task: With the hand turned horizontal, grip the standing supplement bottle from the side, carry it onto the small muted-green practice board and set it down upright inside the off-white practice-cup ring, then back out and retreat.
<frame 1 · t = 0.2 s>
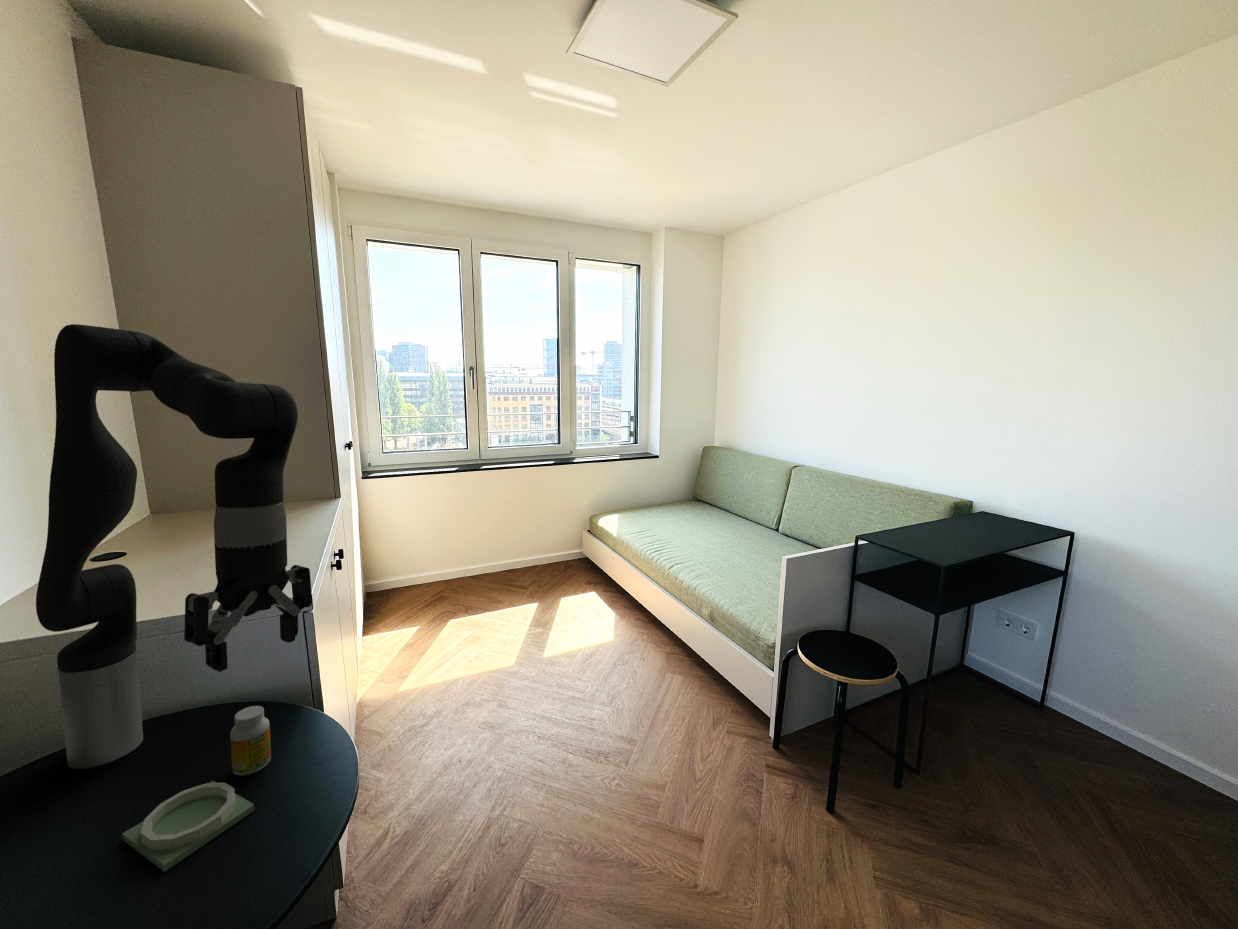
hand: (255, 654, 65), 29 cm above the table, tool pointing down, fingers open, 8 cm apart
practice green: (191, 824, 71), on the table
supplement bottle: (252, 766, 83), on the table
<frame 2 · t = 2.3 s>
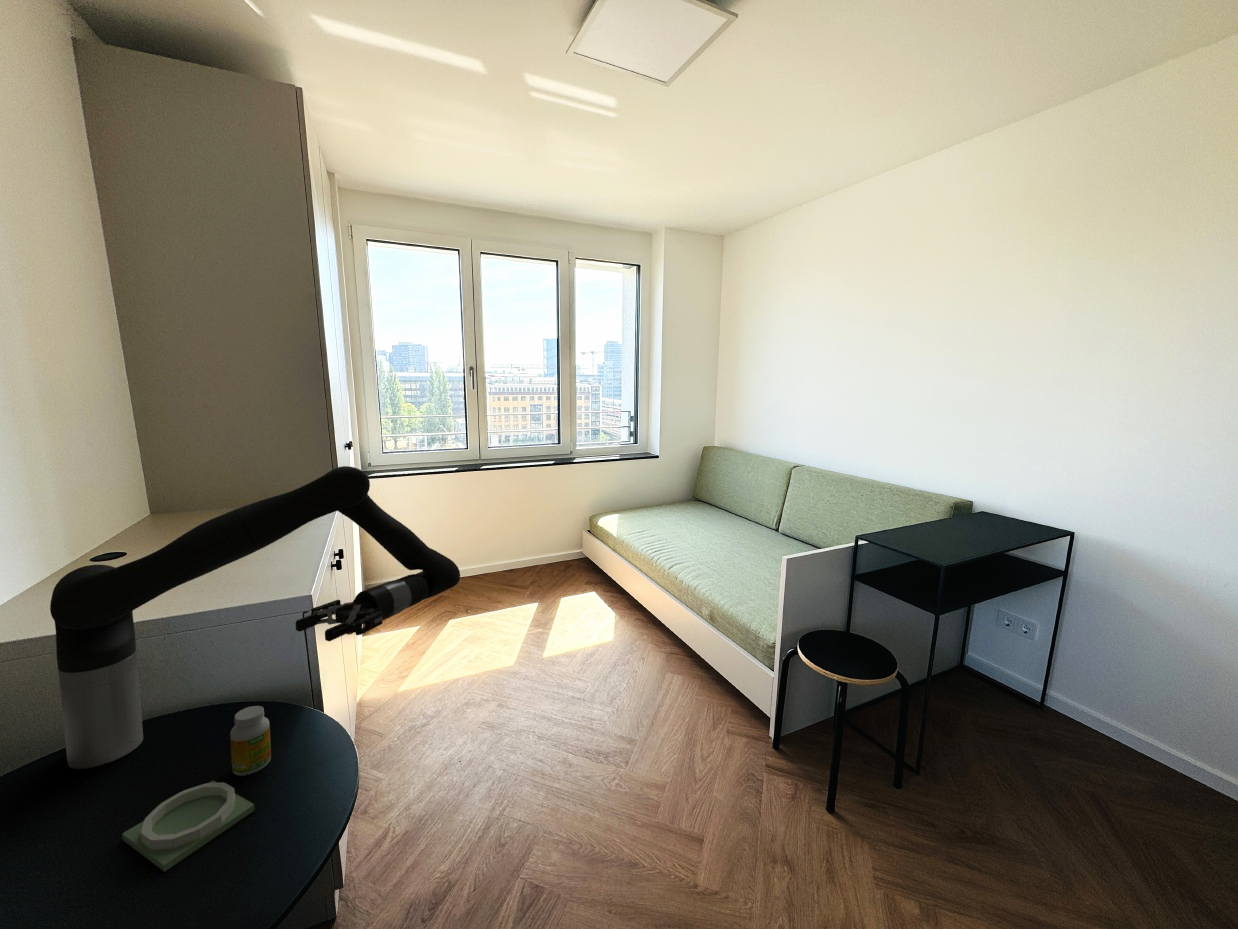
hand: (311, 631, 91), 20 cm above the table, tool horizontal, fingers open, 8 cm apart
nothing on the table moved.
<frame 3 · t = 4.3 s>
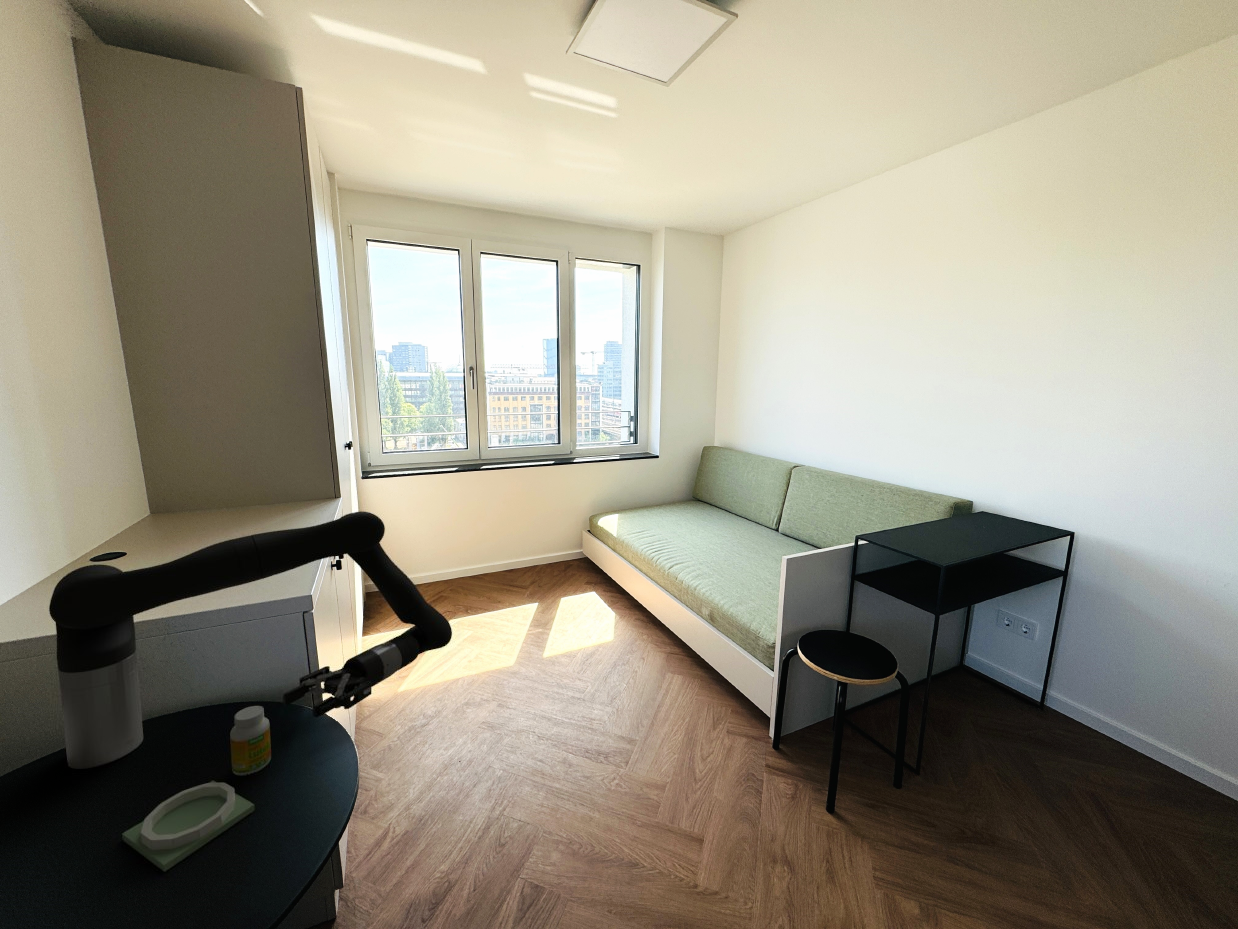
hand: (298, 706, 90), 6 cm above the table, tool horizontal, fingers open, 8 cm apart
nothing on the table moved.
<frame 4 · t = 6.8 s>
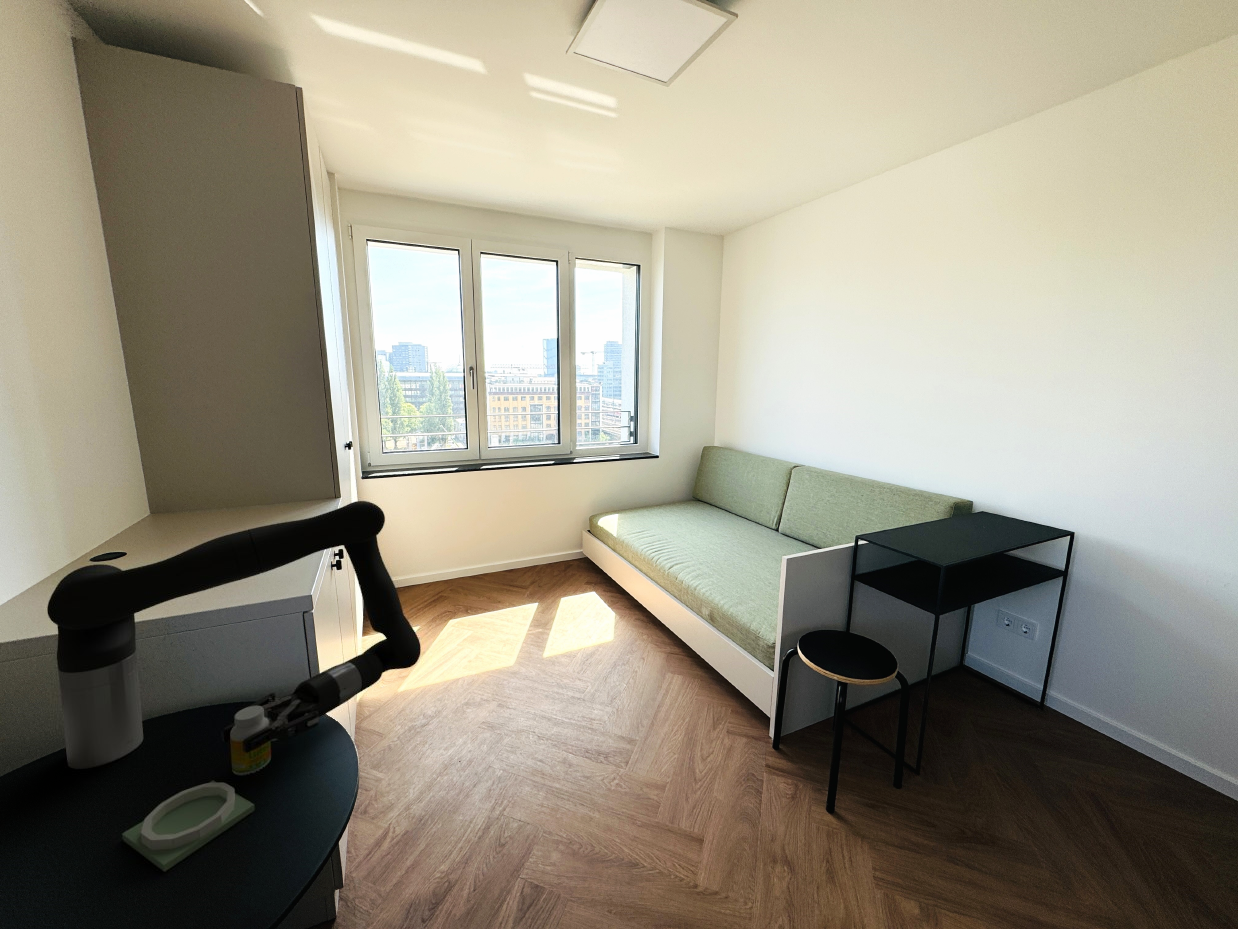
hand: (233, 741, 80), 6 cm above the table, tool horizontal, fingers closed on supplement bottle, 5 cm apart
supplement bottle: (252, 766, 83), on the table, touching gripper
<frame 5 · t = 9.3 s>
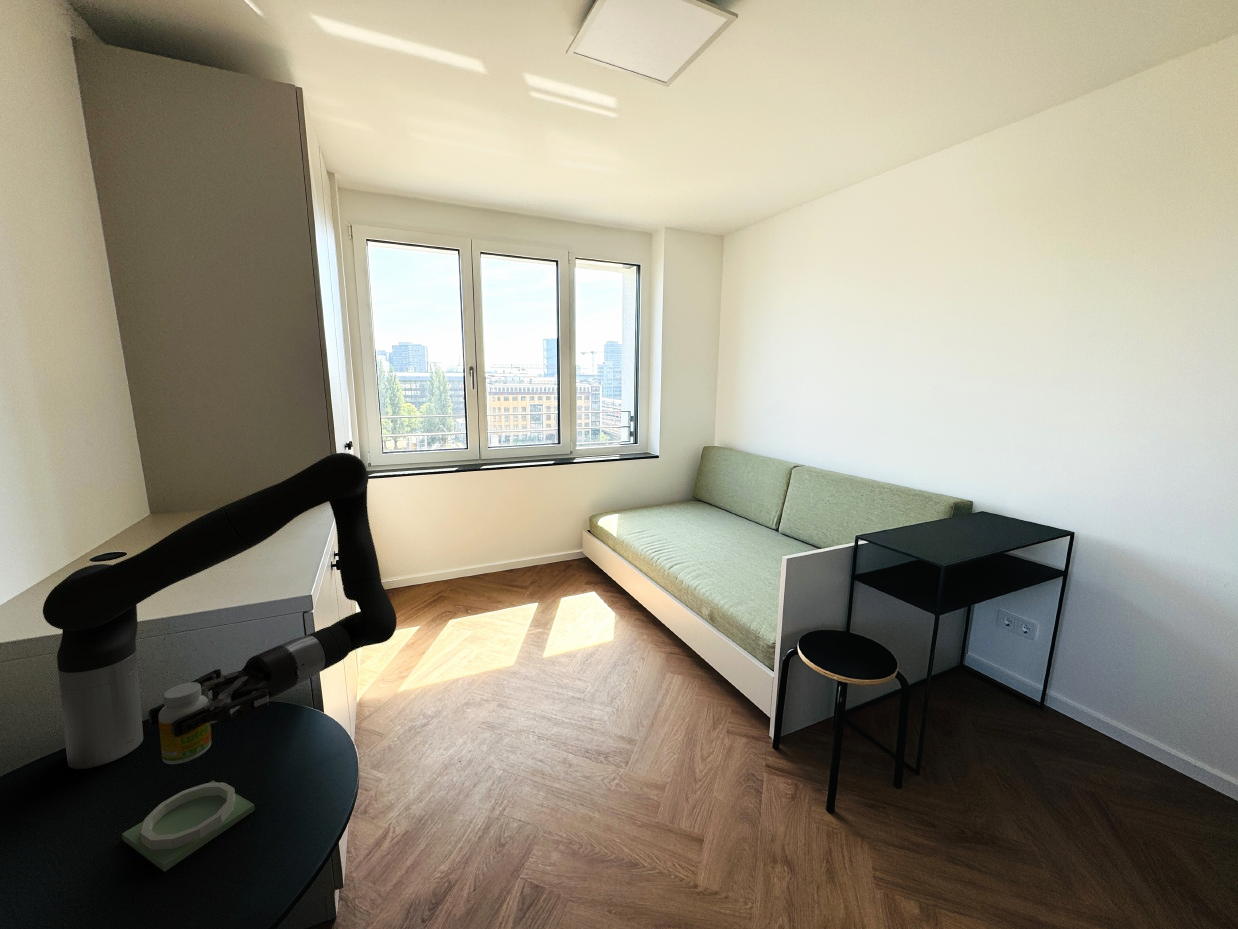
hand: (162, 724, 67), 18 cm above the table, tool horizontal, fingers closed on supplement bottle, 5 cm apart
supplement bottle: (187, 753, 70), point 11 cm above the table, touching gripper
when the fingers open (8 cm above the table, at t = 12.0 s): supplement bottle stays where it is, resting on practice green.
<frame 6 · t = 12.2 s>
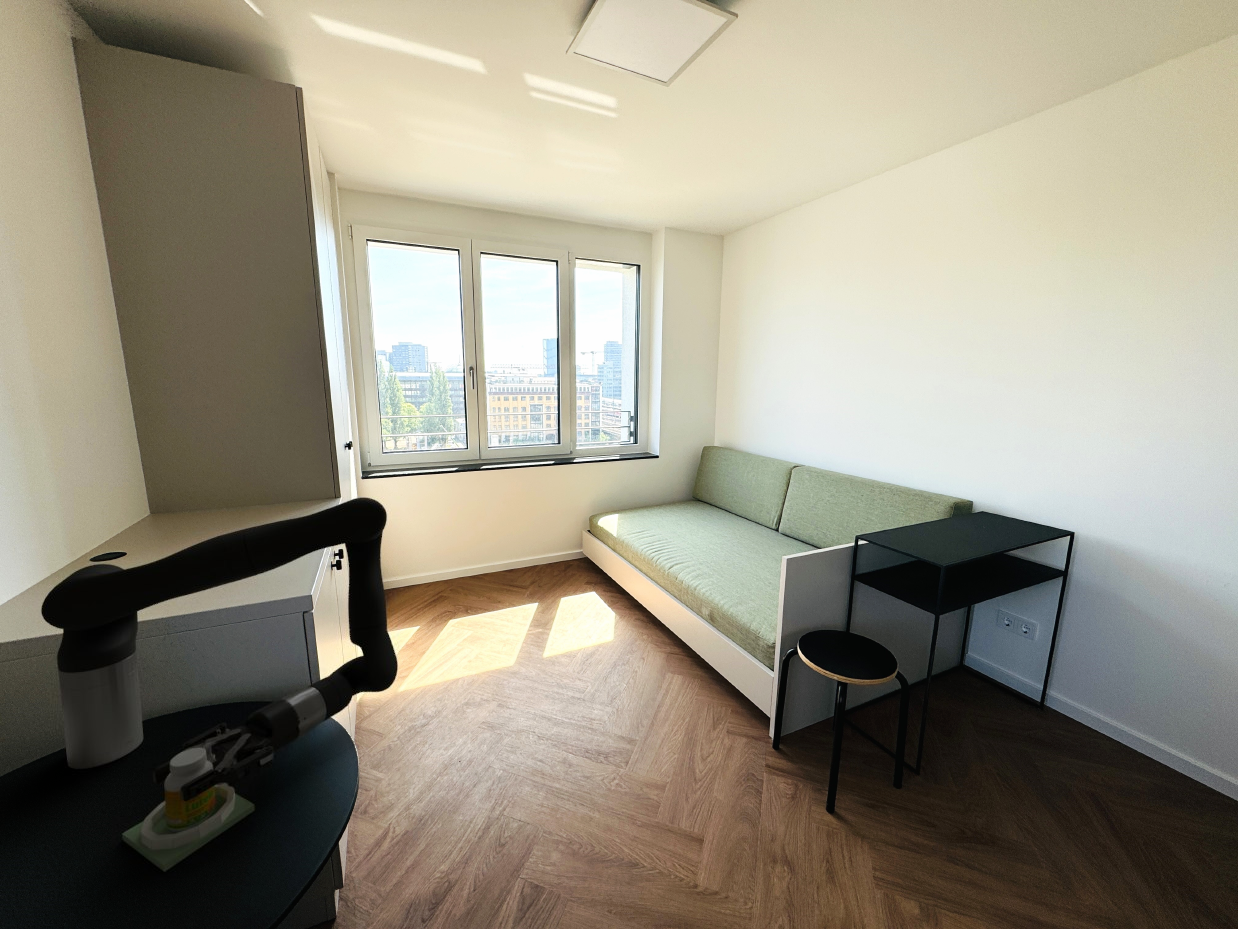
hand: (168, 786, 68), 8 cm above the table, tool horizontal, fingers open, 6 cm apart
supplement bottle: (191, 818, 71), point 1 cm above the table, touching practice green
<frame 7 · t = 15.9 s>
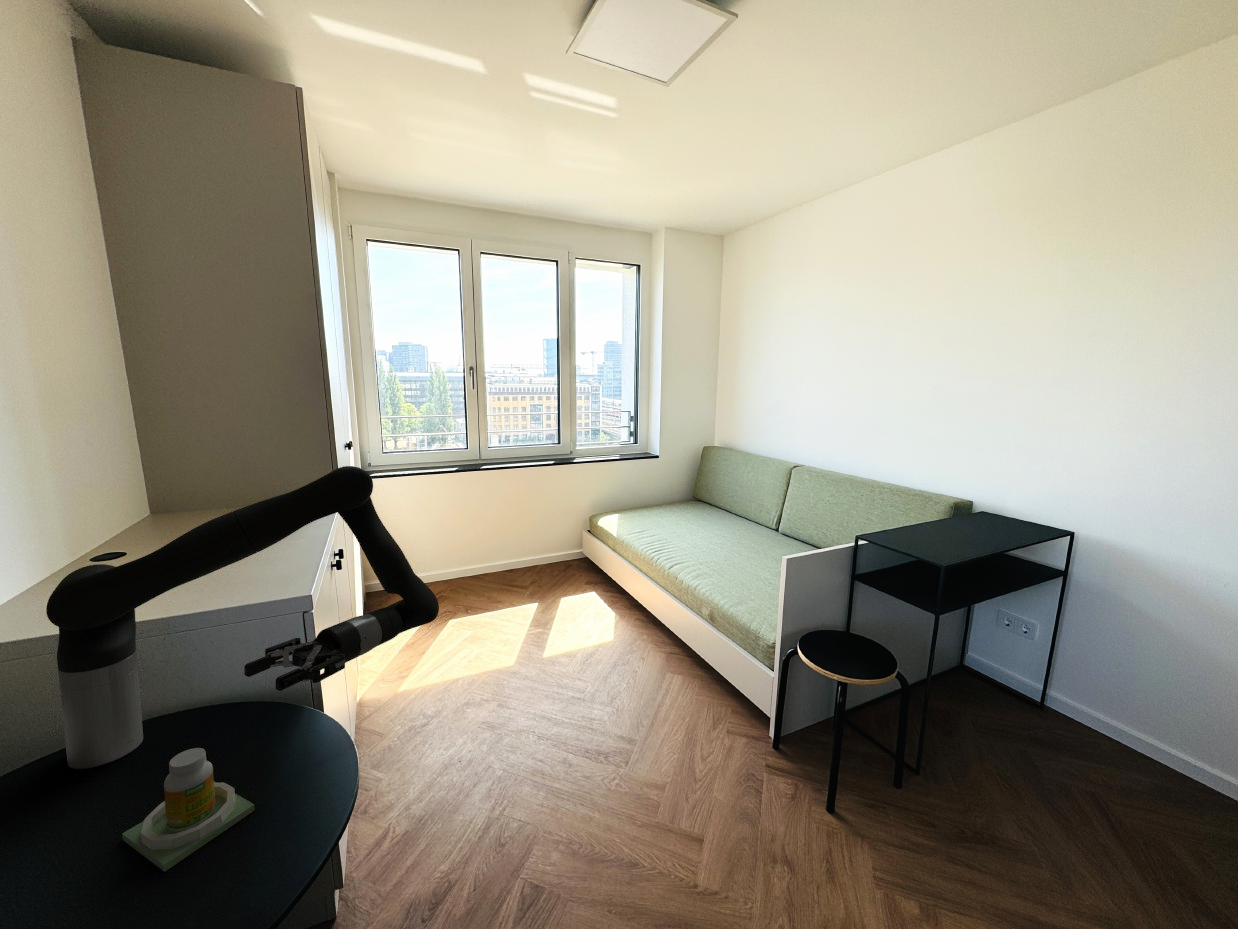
hand: (260, 678, 80), 17 cm above the table, tool horizontal, fingers open, 8 cm apart
nothing on the table moved.
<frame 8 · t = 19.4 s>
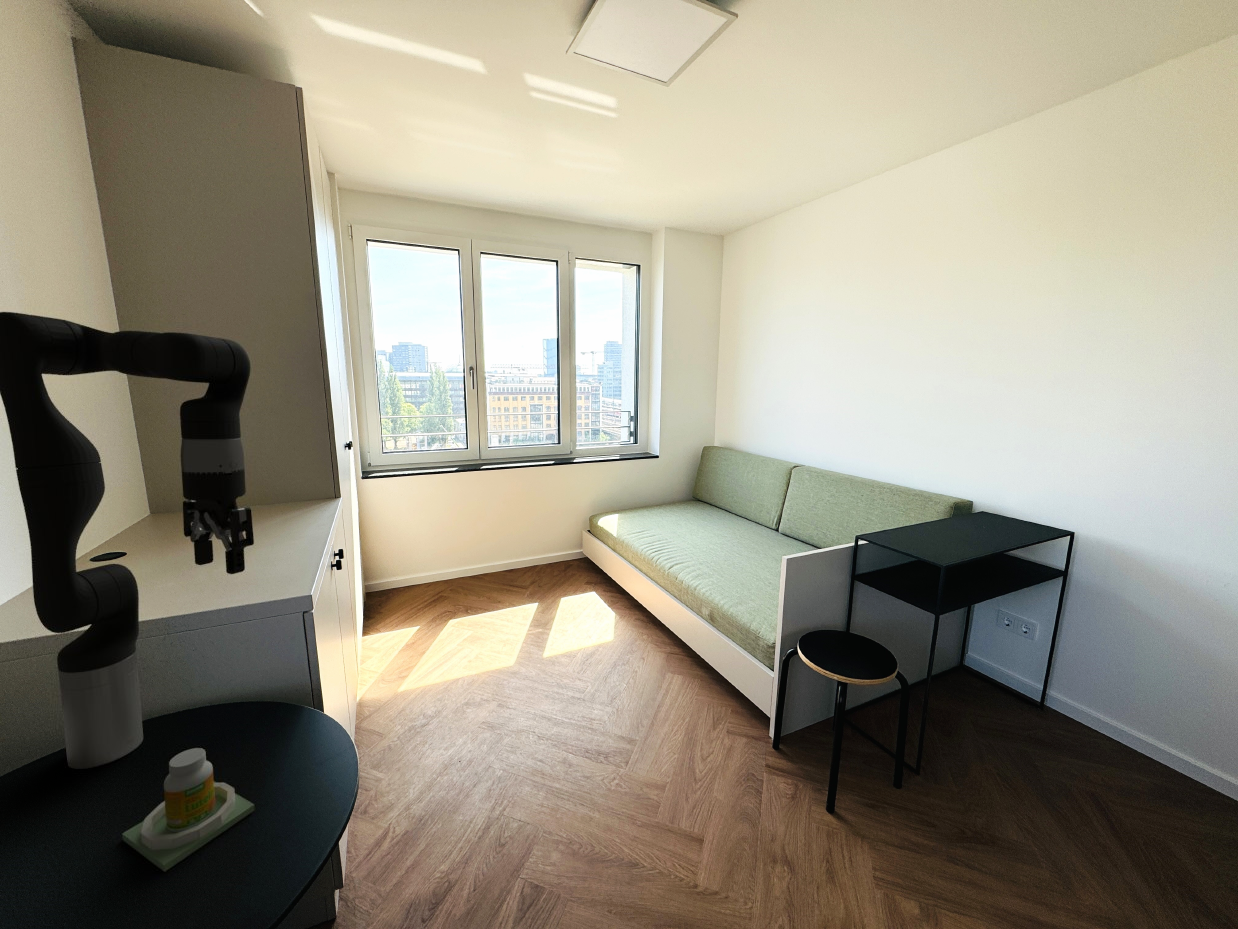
hand: (219, 568, 76), 36 cm above the table, tool pointing down, fingers open, 8 cm apart
nothing on the table moved.
at the end: supplement bottle 0.1 cm off-centre on the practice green, point 0.8 cm above the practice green's base; supplement bottle tilted 0°; the gripper is holding nothing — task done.
